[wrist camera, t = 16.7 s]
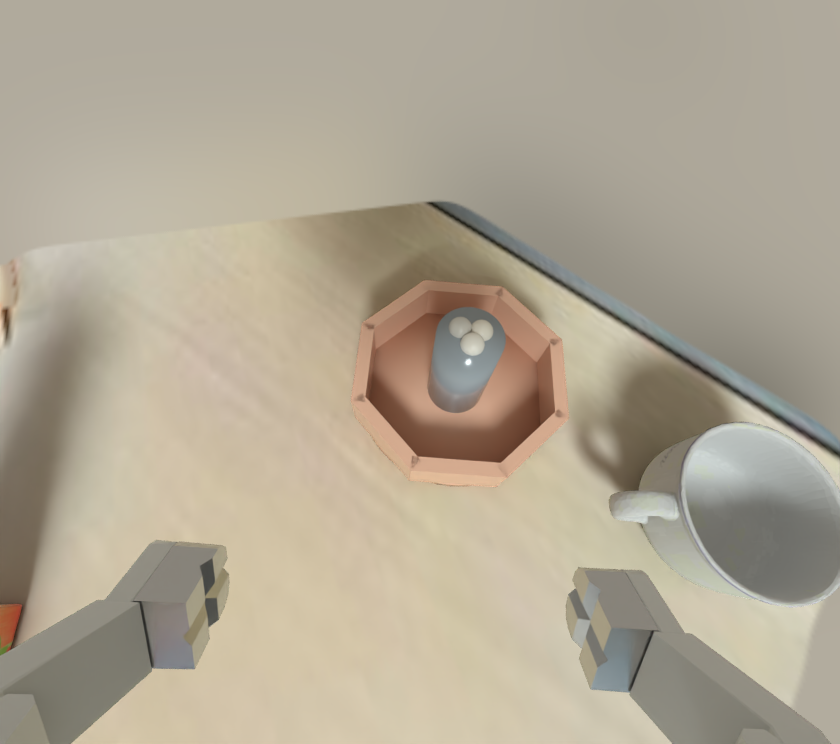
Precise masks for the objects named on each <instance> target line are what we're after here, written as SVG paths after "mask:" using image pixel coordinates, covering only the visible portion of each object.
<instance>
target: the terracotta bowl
mask: <svg viewBox="0 0 840 744" xmlns="http://www.w3.org/2000/svg"><path fill="white" fill-rule="evenodd" d="M462 307H474V308H479V309H482V310H484V311H486V312H488V313H490V314H492V315H493V316H494V317H495V318H496V319H497V320H498V321H499V322H500V324H501V325H502V327H503V329H504V332H505V337H506V344H505V348H504V351H503V353H502V355H501V357H500V359H499V361H498V363H497V365H496V367H495V369H494V371H493V373H492V375H491V377H490V379H489V381H488V383H487V386H486V388H485V390H484V392H483V394H482V396H481V398H480V400H479V402H478V403H477V404H476V405H475V406H474V407H473V408H472V409H470V410H468V411H466V412H462V413H450V412H446V411H444V410H442V409H440V408H439V407H437V406H436V405H435V404H434V403H433V401H432V400H431V398H430V396H429V394H428V389H427V384H428V377H429V371H430V365H431V359H432V353H433V347H434V342H435V336H436V330H437V326H438V324H439V322H440V321H441V319H442V318H443V317H444V316H445V315H446V314H447V313H449V312H450V311H452V310H455V309H458V308H462ZM351 403H352V407H353V411H354V415H355V418H356V419H357V420H358V421H359V422H360V423H361V425H362V426H363V427H364V428H365V429H366V430H367V432H368V433H369V434H370V435H371V436H372V438H373V440H374V442H375V443H376V444H377V446H378V447H379V448H380V450H381V451H382V452H383V453H384V454H385V455H386V456H387V457H388V458H389V459H390V460H391V461H392V462H393V463H395V465H396V466H397V467H398V468H399V469H400V470H401V472H402V473H403V474H404V475H405V476H406V478H407V479H408V480H409V481H423V482H431V483H435V484H439V485H446V486H471V485H475V486H489V487H497V486H498V485H499V484H500V483H502V482H503V481H504V480H505V479H506V478H508V477H509V476H510V475H511V474H512V473H513V472H514V471H515V470H516V469H517V468H518V467H519V466H520V465H521V464H522V463H523V462H524V461H525V460H526V459H527V458H528V457H529V456H530V455H531V454H532V453H534V452H535V451H536V450H537V449H538V448H539V447H540V446H541V445H542V444H543V443H544V442H545V441H546V440H547V439H548V438H549V437H550V436H551V435H552V434H553V433H554V432H555V431H556V430H557V429H558V428H560V427H561V426H562V425H563V424H564V423H565V422H566V421H567V420H568V419H569V412H568V400H567V389H566V378H565V367H564V355H563V344H562V339H561V338H560V337H559V336H557V335H556V334H555V333H554V332H553V331H552V330H551V329H550V328H549V327H547V326H546V325H545V324H544V323H543V322H542V321H541V320H540V319H538V318H537V317H536V316H535V315H534V314H533V313H532V312H531V311H530V310H528V309H527V308H526V307H525V306H524V305H523V304H522V303H521V302H519V301H518V300H517V299H516V298H515V297H514V296H513V295H512V294H510V293H509V292H508V291H507V290H506V289H505V288H504V287H501V286H489V285H478V284H466V283H455V282H443V281H432V280H424V281H422V282H421V283H419V284H418V285H416V286H415V287H413V288H412V289H411V290H409V291H408V292H406V293H405V294H403V295H402V296H400V297H399V298H397V299H396V300H395V301H393V302H392V303H390V304H389V305H387V306H386V307H384V308H383V309H381V310H380V311H379V312H377V313H376V314H374V315H373V316H371V317H370V318H368V319H367V320H365V321H364V322H362V326H361V333H360V340H359V347H358V354H357V361H356V368H355V375H354V382H353V389H352V396H351Z"/></svg>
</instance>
